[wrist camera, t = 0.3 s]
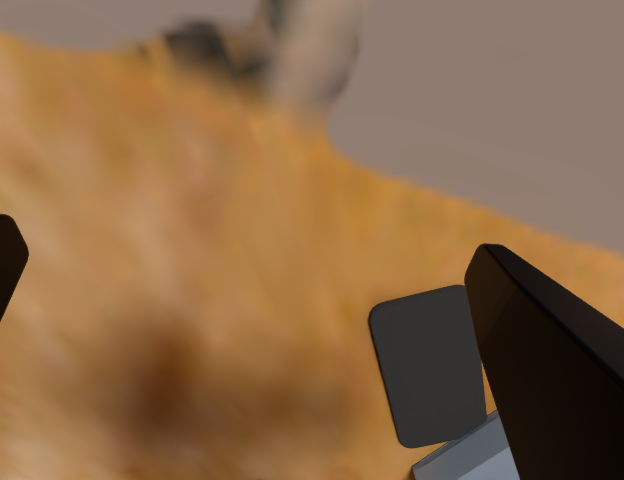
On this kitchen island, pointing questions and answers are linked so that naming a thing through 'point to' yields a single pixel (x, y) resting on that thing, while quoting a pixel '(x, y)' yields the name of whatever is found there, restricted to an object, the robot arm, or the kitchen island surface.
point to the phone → (430, 365)
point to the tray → (472, 456)
